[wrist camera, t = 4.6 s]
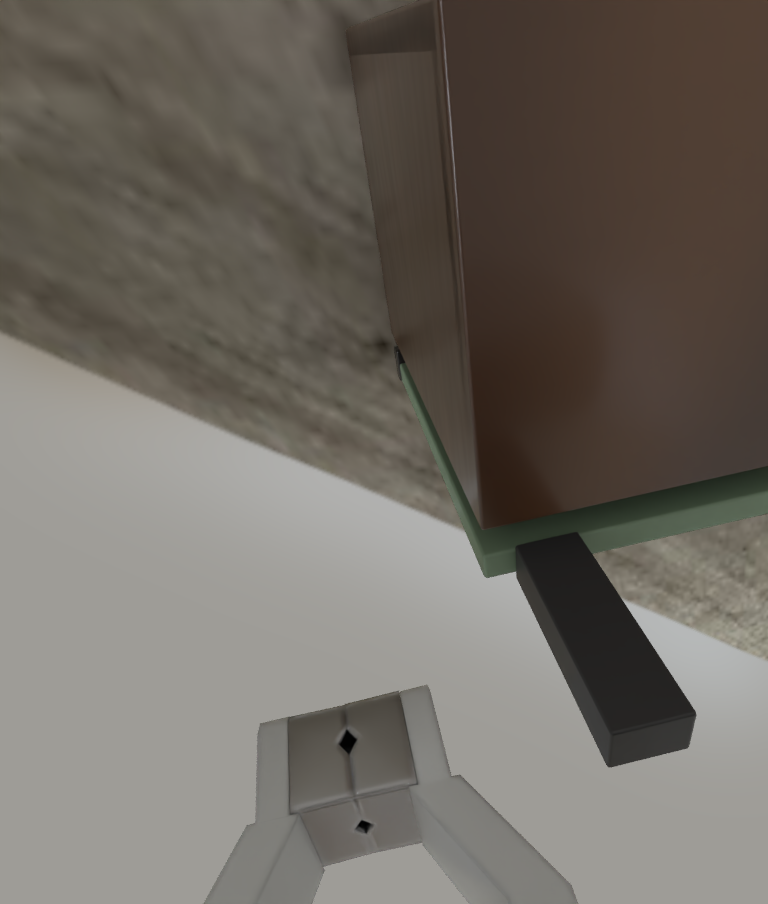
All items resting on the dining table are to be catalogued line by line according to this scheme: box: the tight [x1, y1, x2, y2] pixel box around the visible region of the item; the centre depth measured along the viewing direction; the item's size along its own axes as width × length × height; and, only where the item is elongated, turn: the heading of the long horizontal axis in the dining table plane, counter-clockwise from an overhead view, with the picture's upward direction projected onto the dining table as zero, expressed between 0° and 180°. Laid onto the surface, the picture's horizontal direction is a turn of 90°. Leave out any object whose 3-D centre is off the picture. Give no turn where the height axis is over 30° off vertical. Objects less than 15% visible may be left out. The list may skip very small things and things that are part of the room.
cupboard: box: [346, 0, 768, 530], centre depth 15 cm, size 14×11×11 cm
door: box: [400, 363, 768, 767], centre depth 16 cm, size 7×1×14 cm, turn 99°
